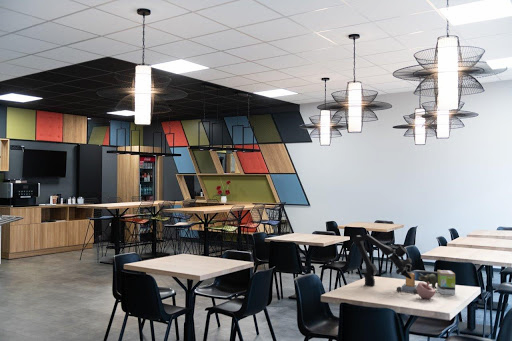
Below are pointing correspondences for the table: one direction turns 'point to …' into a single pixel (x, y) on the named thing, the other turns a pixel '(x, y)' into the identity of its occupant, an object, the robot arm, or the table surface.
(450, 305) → the table surface
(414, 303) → the table surface
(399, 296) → the table surface
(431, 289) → the mortar and pestle
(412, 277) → the orange block gray top
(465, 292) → the table surface
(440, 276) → the tea box
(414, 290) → the chassis
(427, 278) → the dinosaur figurine
